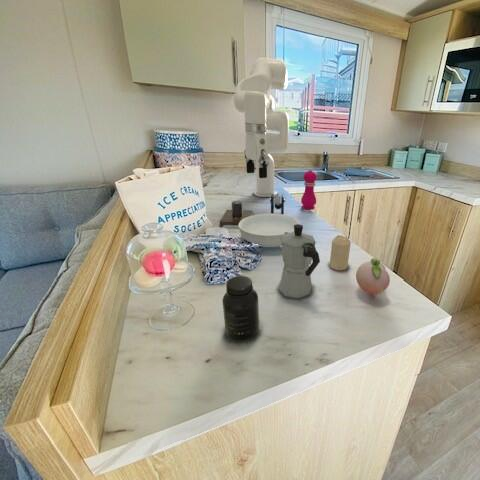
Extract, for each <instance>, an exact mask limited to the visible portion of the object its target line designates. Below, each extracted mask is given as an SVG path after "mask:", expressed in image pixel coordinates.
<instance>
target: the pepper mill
mask: <svg viewBox="0 0 480 480" xmlns="http://www.w3.org/2000/svg"><path fill="white" fill-rule="evenodd" d="M317 179H318V175H317V173H316V172H315V171H313V168H312V167H309V168H308V170H307V171H305V172H304V174H303V180H304V183H303V185H304V192H303V194H302V196H301V199H300V203H301V204H302V205H301V208H302V209H303V210H307V211H312V210H315V209H316V207H315V205H316V204H317V197H316V195H315V186H316V181H317Z"/></svg>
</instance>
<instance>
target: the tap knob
mask: <svg viewBox="0 0 480 480" xmlns="http://www.w3.org/2000/svg"><path fill="white" fill-rule="evenodd" d="M231 210H232V216H233V217H242V216H243V213H242V210H243V202H242V200H241V201H239V200H233V201H231Z"/></svg>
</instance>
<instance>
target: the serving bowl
mask: <svg viewBox="0 0 480 480" xmlns="http://www.w3.org/2000/svg"><path fill="white" fill-rule="evenodd" d="M296 224H300V225H301V223H300V221H299V220H298V219H297V218H295V217H293V216H291V215H286V214H284V215H282V214H281V213H274V214H272V213H271V212H270V213H258V214H257V213H256V214H253V215H252V216H249V217H246V218H244V219H242V220H241V221H240V222H239V225H237V226H238V230H239V233H240V235H241V237H242V238H243V240H245V241H246V240H247V241H246V242H248V241H249V242H251V243H254V244H258V245H261V246H260V247H263V248H276V247H281V239H280V237H281V236H283V235H284V232H288V233H295V232H294V225H296ZM249 242H248V243H249ZM251 243H250V244H251ZM254 244H253V245H254Z"/></svg>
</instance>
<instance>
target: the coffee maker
mask: <svg viewBox="0 0 480 480" xmlns="http://www.w3.org/2000/svg"><path fill="white" fill-rule="evenodd" d="M303 231H304V226H303V224H301V223H300V224H296V225H294V232H295V233H288V232H284V235H283V236H281V237H280V239H281V246H280V247H281V252H282V253H281V254H282V261H283V268H282V273H281V279H280V283H279V288H278V290H279V292H280V293H281V294H282V295H283V297H285V298H291V299H298V300H299V299H301V298H304V297H307V296H309V295H311V291H312V286H313V285H312V278H311V275H312V273H313V272H314V271H315V269H316V268H317V266H318V265H319V264H320V262H321V260H320V254H319V252H318V250H317V247H316V240H315V238H314V236H313V235H312V234H308V233H305V232H303Z"/></svg>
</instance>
